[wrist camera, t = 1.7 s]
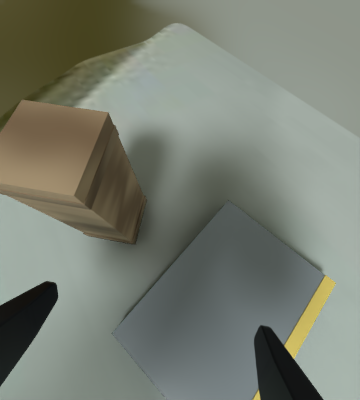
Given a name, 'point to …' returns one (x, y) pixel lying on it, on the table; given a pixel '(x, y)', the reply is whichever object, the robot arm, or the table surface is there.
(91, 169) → the brown block
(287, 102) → the table surface
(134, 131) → the table surface
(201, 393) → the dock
